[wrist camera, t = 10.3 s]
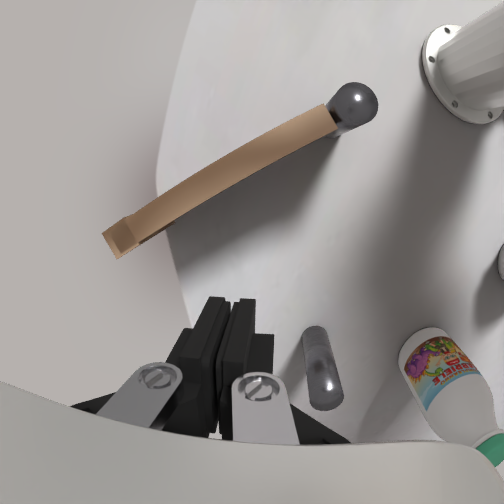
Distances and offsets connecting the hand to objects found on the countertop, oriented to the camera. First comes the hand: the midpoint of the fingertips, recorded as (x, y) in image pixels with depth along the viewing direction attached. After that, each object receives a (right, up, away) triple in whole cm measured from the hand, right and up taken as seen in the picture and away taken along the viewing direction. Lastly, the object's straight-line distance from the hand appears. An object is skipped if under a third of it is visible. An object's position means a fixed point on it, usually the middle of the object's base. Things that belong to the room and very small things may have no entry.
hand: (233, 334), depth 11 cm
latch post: (+8, -7, +24) cm, 26 cm away
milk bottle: (+23, -10, +24) cm, 35 cm away
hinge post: (+8, +16, +18) cm, 25 cm away
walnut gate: (-2, +10, +19) cm, 22 cm away
